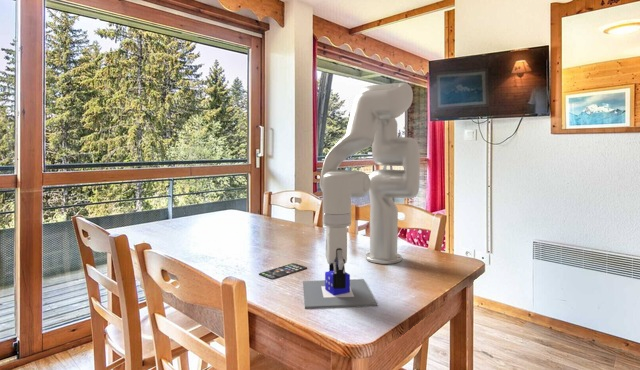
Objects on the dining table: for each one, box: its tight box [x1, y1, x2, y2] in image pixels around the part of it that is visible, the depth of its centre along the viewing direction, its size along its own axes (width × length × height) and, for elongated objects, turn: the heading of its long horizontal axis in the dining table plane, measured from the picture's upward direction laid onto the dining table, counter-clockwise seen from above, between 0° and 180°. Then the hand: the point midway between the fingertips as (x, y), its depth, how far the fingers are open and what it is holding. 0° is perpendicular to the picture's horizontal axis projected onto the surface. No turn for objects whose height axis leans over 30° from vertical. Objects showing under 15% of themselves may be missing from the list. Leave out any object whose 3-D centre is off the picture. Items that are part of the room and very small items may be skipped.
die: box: [324, 270, 351, 295], centre depth 103 cm, size 5×5×5 cm
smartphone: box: [258, 262, 308, 281], centre depth 122 cm, size 7×1×15 cm
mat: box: [302, 278, 378, 309], centre depth 103 cm, size 18×18×1 cm
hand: (337, 281), depth 102 cm, fingers open, 9 cm apart
